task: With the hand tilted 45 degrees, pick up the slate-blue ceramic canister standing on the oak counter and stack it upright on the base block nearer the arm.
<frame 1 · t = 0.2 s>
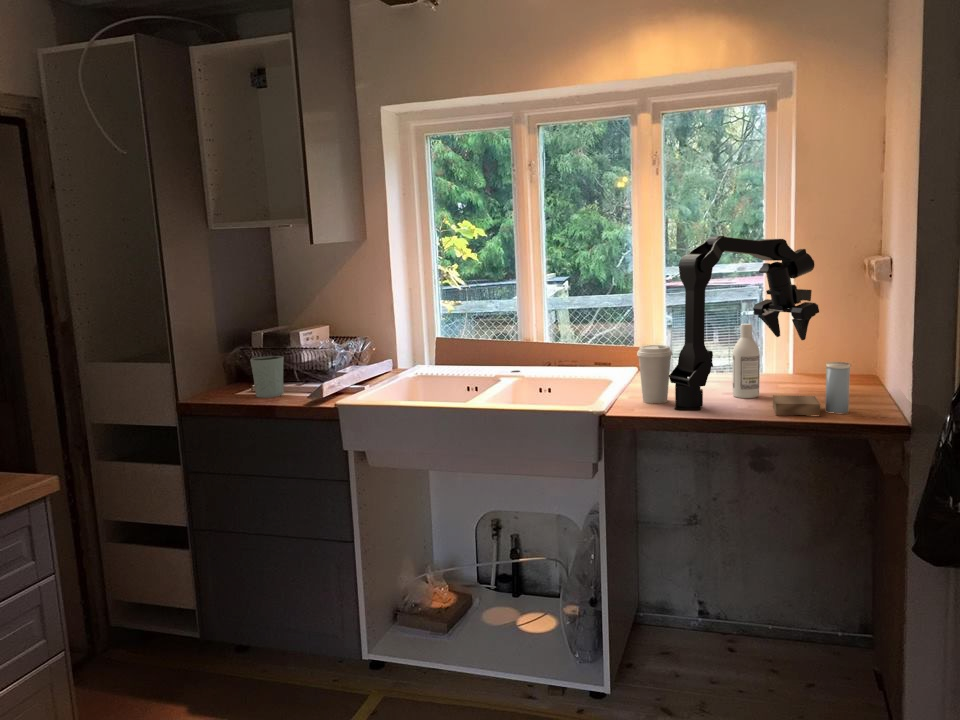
hand: (790, 338, 212), 15 cm above the worktop, tool tilted 15°, fingers open, 9 cm apart
coffee cup: (655, 401, 211), on the worktop
base block: (795, 411, 192), on the worktop
bath foam: (745, 396, 212), on the worktop
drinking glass: (270, 395, 246), on the worktop
canister: (836, 411, 190), on the worktop
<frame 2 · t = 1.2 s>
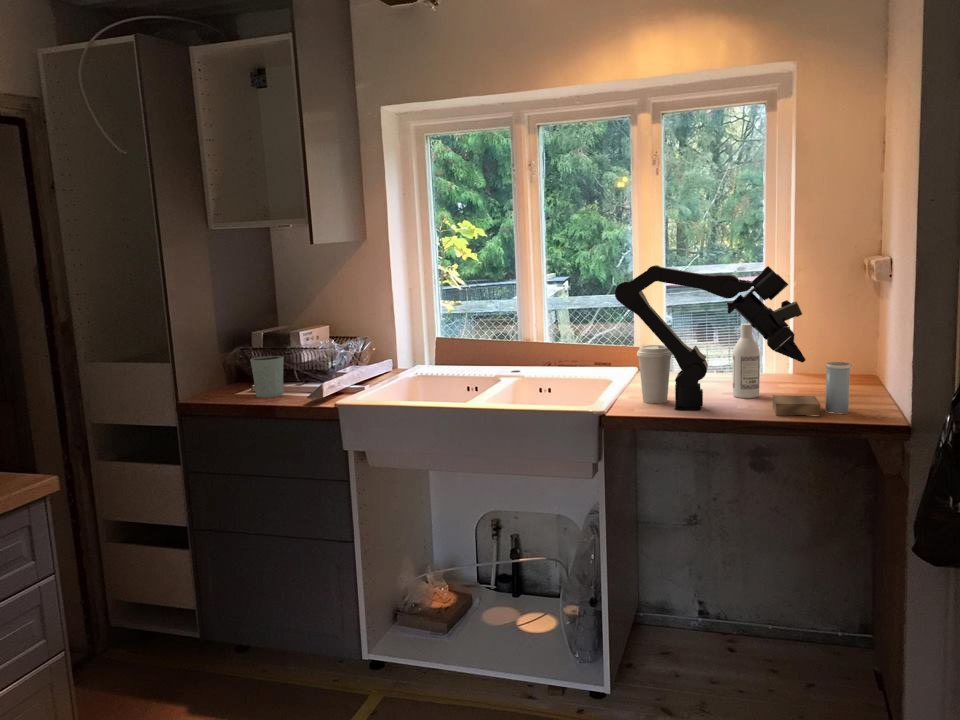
hand: (802, 358, 191), 13 cm above the worktop, tool tilted 45°, fingers open, 9 cm apart
nothing on the worktop moved.
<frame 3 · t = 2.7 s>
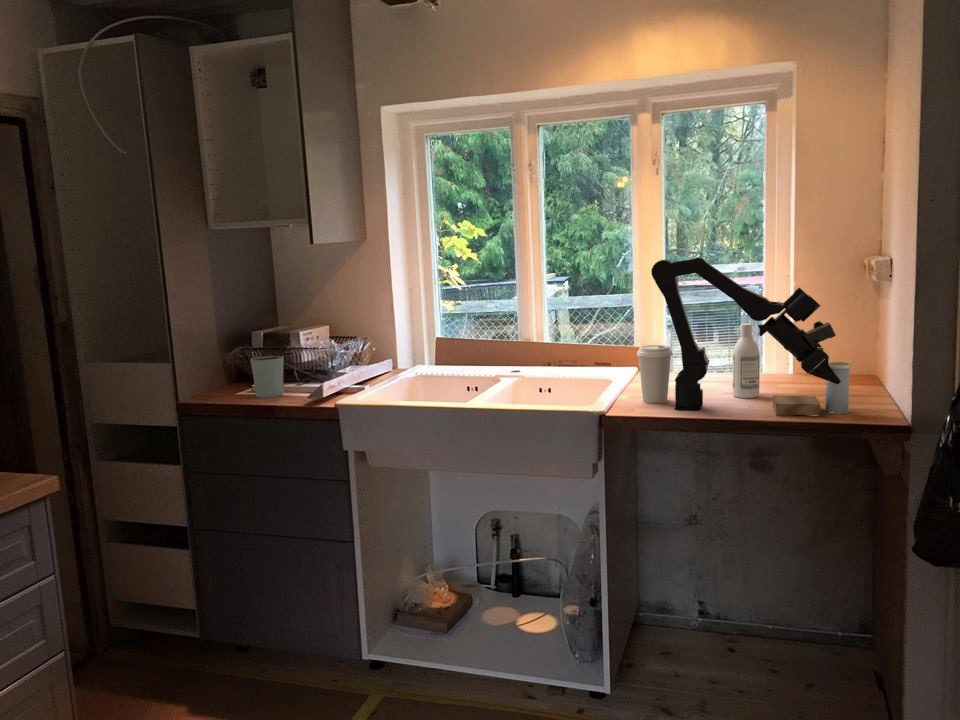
hand: (837, 379, 189), 8 cm above the worktop, tool tilted 45°, fingers open, 9 cm apart
nothing on the worktop moved.
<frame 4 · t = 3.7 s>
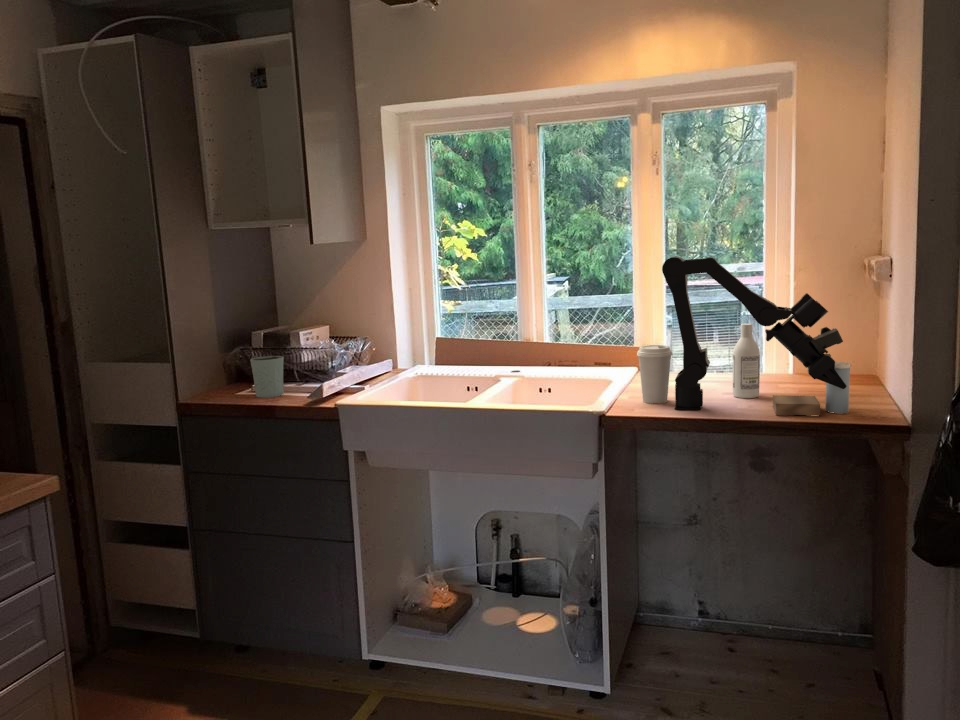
hand: (843, 385, 188), 7 cm above the worktop, tool tilted 45°, fingers closed on canister, 5 cm apart
canister: (836, 411, 190), on the worktop, touching gripper
everything else where it was.
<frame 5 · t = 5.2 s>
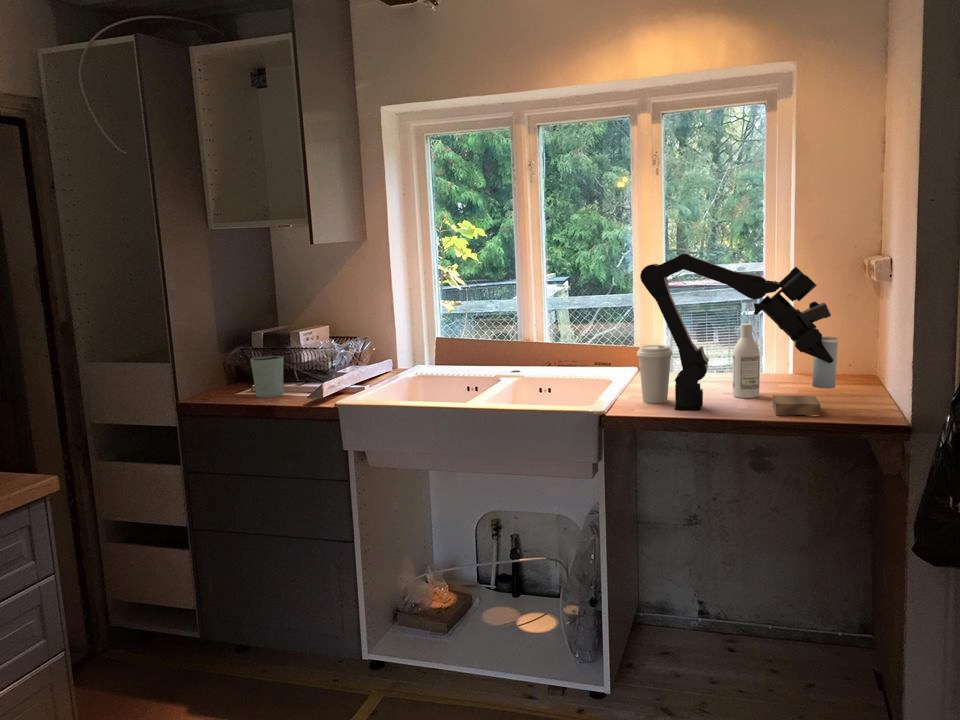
hand: (830, 360, 188), 13 cm above the worktop, tool tilted 45°, fingers closed on canister, 5 cm apart
canister: (823, 386, 190), point 6 cm above the worktop, touching gripper
everything else where it was.
when the fingers open (10 cm above the worktop, at t = 6.7 s): canister stays where it is, resting on base block.
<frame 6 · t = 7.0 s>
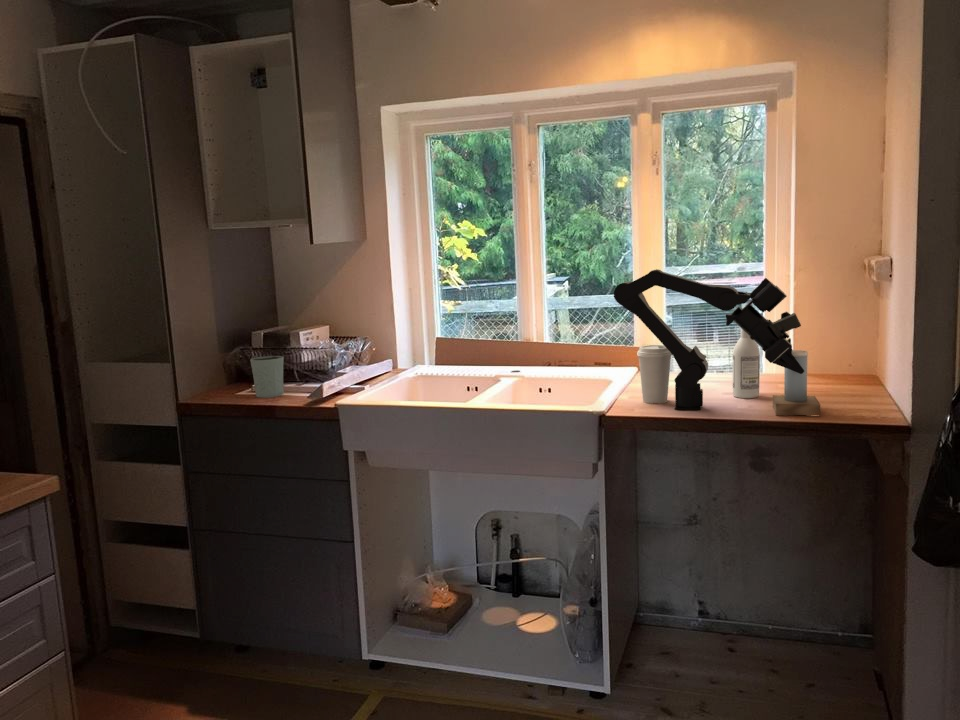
hand: (802, 369, 190), 11 cm above the worktop, tool tilted 45°, fingers open, 8 cm apart
canister: (795, 399, 192), point 3 cm above the worktop, touching base block
everything else where it was.
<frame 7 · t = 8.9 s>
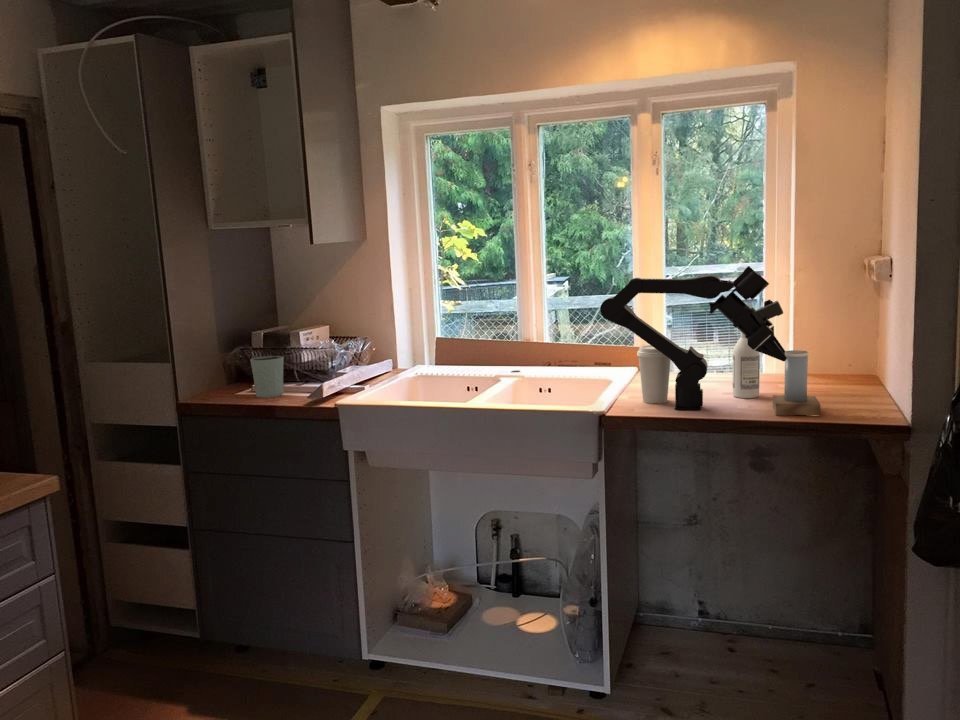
hand: (785, 357, 192), 14 cm above the worktop, tool tilted 45°, fingers open, 9 cm apart
nothing on the worktop moved.
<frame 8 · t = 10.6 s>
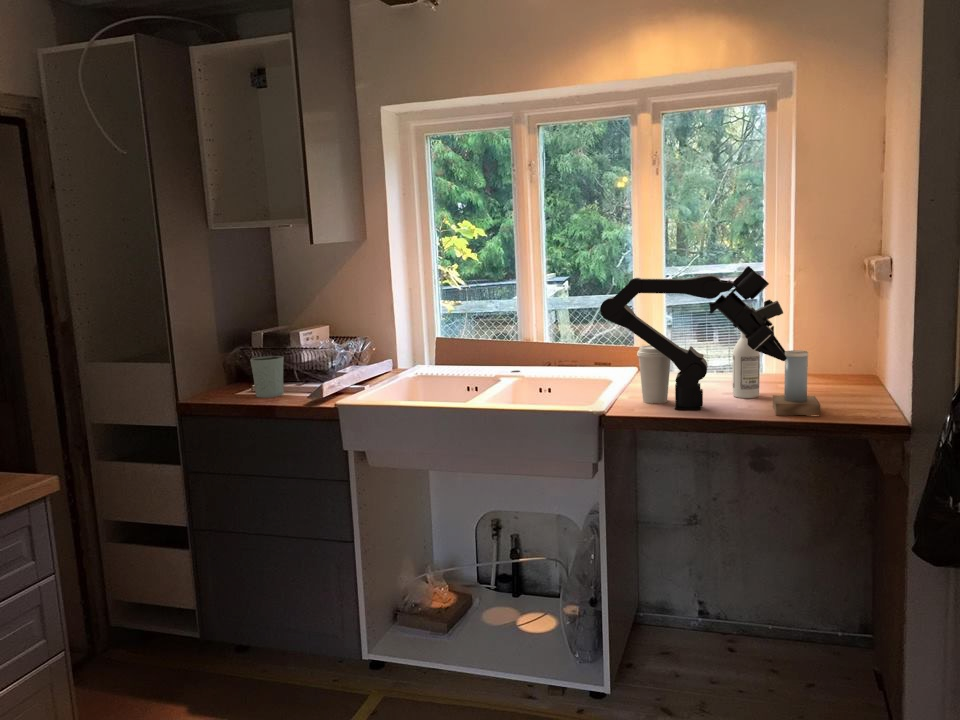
hand: (785, 356, 192), 14 cm above the worktop, tool tilted 45°, fingers open, 9 cm apart
nothing on the worktop moved.
at the end: canister inside the target area on the base block (0.1 cm from its centre), point 3.0 cm above the base block's base; canister tilted 0°; the gripper is holding nothing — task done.
